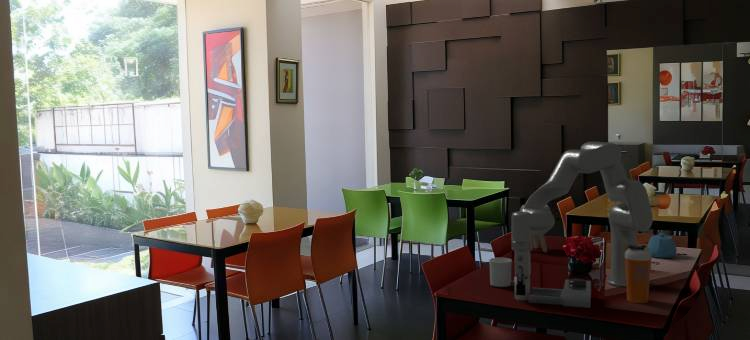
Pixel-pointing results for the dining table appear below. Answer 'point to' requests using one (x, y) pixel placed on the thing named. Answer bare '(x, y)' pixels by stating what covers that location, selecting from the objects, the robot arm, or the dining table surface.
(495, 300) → the dining table surface
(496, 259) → the mug
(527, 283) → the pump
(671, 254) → the teapot
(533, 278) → the dining table surface
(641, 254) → the shaker bottle
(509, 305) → the dining table surface
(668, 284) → the dining table surface
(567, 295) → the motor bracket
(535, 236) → the grey tooth model
